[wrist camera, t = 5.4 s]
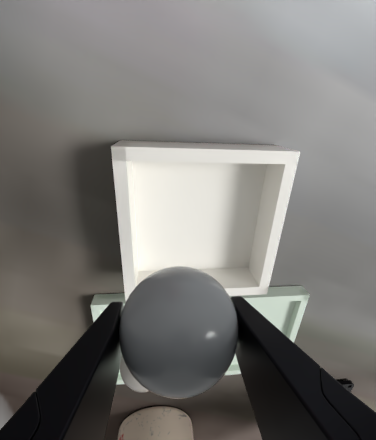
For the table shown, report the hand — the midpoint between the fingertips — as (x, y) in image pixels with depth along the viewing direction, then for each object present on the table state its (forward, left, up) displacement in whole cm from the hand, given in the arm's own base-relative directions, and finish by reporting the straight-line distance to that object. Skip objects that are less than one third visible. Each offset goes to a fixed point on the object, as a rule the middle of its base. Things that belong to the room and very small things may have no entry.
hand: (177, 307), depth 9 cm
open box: (0, -2, -9) cm, 9 cm away
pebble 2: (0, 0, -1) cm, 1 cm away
